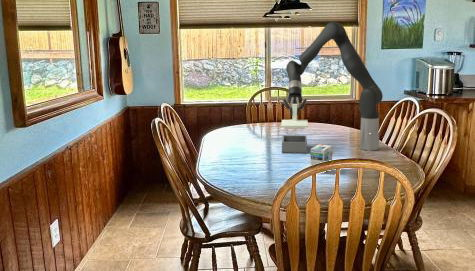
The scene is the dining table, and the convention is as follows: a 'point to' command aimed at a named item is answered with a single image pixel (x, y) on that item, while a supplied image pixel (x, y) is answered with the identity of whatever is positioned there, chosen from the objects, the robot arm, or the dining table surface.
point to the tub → (294, 144)
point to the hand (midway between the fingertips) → (294, 114)
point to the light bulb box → (321, 154)
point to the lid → (294, 121)
